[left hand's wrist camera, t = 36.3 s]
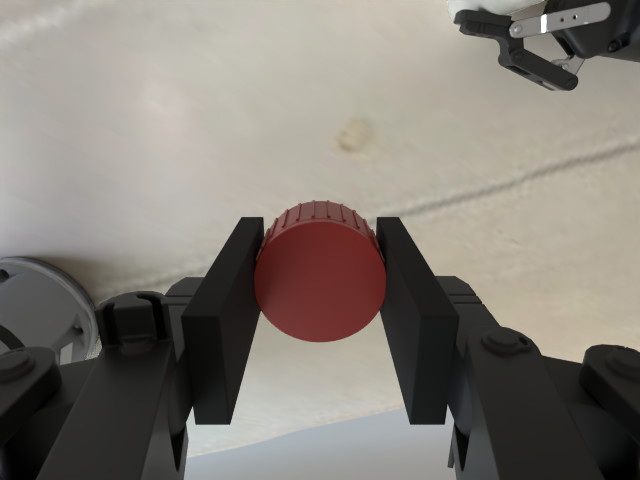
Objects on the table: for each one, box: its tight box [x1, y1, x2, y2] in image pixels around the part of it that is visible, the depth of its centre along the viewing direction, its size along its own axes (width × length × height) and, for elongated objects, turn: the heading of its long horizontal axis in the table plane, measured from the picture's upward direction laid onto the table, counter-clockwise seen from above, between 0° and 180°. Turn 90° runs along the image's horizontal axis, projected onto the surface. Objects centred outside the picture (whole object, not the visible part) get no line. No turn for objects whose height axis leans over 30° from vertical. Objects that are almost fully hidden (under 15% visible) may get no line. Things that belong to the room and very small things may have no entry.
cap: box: [254, 200, 386, 342], centre depth 13 cm, size 4×4×2 cm
